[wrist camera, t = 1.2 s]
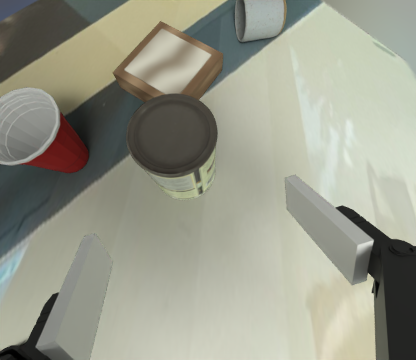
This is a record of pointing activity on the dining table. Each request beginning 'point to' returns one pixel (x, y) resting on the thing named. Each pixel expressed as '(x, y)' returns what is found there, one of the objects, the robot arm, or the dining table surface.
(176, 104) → the coffee can
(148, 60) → the picture frame
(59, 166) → the plastic cup
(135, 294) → the dining table surface
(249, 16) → the ceramic mug
